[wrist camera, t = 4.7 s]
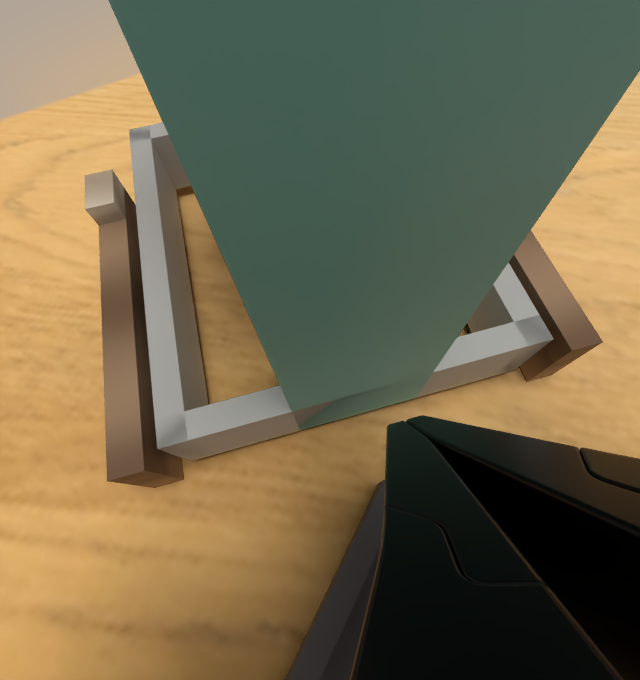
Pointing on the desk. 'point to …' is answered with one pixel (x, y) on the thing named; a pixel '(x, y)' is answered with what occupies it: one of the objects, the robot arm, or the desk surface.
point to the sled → (357, 189)
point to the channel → (132, 343)
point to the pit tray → (343, 604)
